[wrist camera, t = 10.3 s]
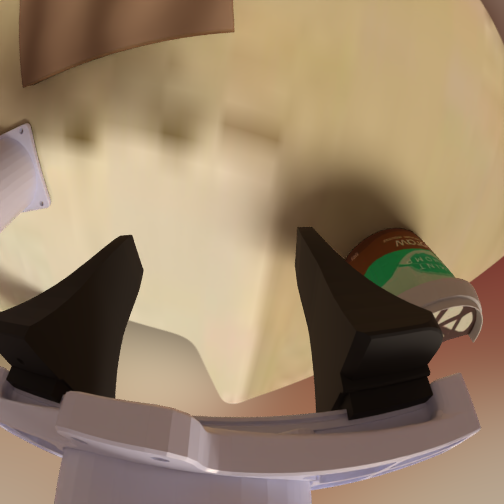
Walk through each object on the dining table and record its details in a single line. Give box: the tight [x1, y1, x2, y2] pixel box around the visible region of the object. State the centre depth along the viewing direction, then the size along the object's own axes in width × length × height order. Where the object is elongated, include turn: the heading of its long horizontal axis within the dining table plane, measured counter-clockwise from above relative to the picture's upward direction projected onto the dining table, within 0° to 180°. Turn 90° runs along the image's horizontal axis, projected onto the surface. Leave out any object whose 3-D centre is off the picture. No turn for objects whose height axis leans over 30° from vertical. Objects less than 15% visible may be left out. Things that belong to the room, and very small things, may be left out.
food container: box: [345, 228, 483, 342], centre depth 20 cm, size 12×6×10 cm, turn 94°
